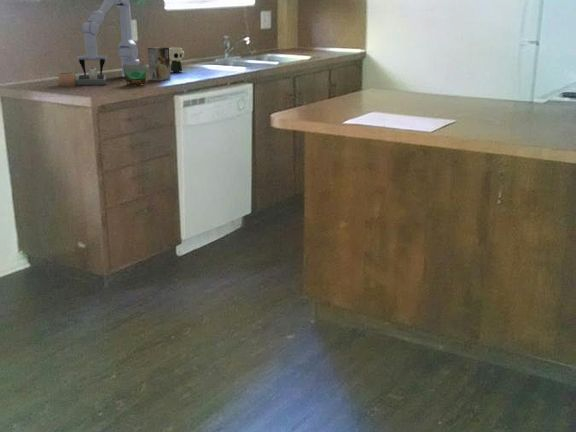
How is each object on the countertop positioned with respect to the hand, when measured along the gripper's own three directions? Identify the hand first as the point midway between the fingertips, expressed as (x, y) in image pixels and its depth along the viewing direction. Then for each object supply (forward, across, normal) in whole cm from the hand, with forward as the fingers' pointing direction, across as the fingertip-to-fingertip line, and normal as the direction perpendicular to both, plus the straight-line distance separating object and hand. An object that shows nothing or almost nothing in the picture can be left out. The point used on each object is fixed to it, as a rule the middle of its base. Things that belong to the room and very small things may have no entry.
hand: (93, 74), depth 366 cm
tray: (+3, -1, -2) cm, 4 cm away
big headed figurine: (+4, +44, +34) cm, 56 cm away
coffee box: (+4, +33, +4) cm, 33 cm away
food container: (+4, +21, -16) cm, 27 cm away
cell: (+3, 0, 0) cm, 3 cm away
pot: (+3, -12, -11) cm, 17 cm away
